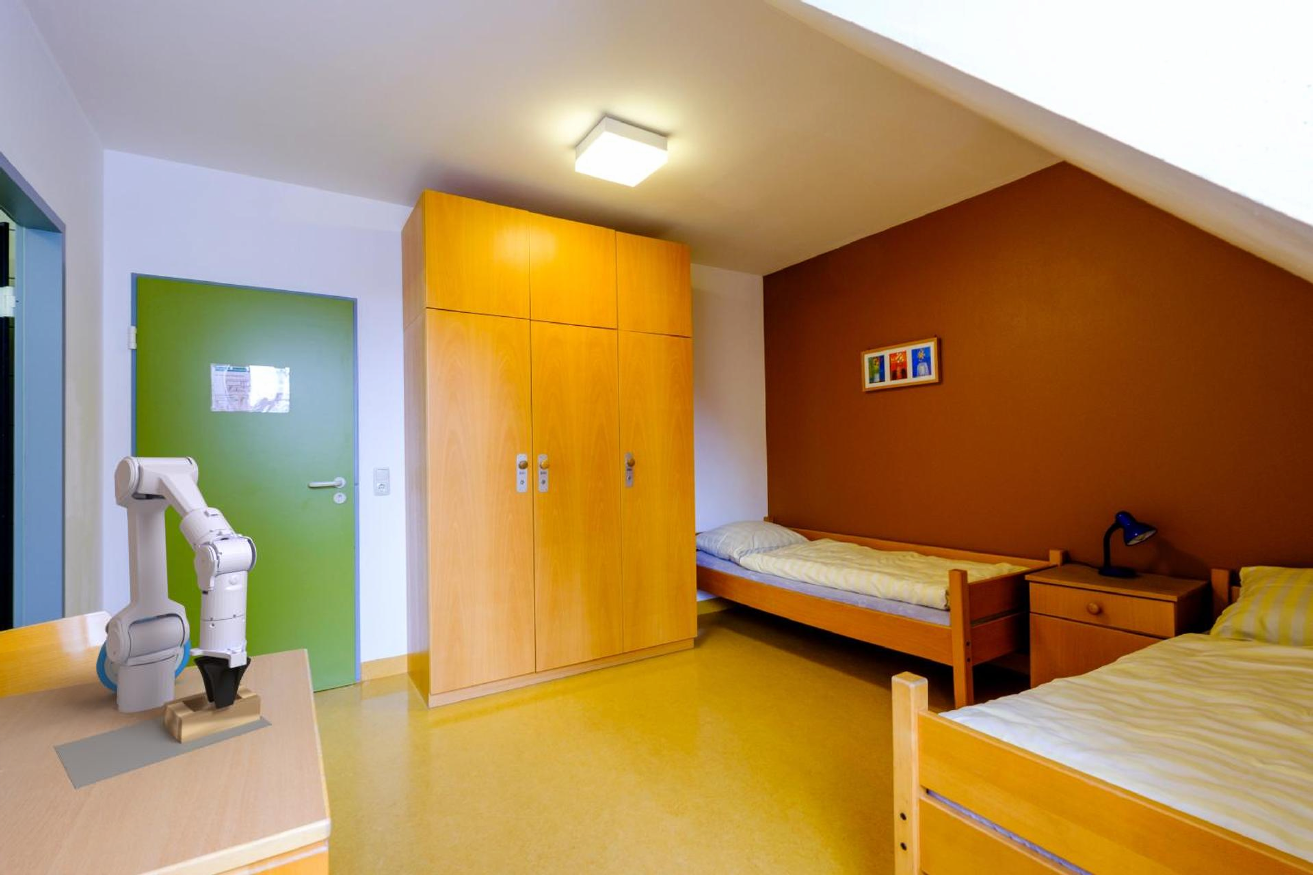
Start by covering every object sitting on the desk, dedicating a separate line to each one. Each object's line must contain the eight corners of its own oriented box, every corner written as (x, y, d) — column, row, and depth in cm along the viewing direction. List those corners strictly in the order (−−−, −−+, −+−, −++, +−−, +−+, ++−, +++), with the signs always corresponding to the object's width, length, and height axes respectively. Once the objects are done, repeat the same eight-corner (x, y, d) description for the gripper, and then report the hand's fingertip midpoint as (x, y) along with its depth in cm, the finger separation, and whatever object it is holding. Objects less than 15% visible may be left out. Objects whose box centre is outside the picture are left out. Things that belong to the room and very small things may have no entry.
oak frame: (163, 725, 89) (163, 702, 89) (238, 703, 97) (238, 682, 97) (181, 743, 83) (182, 719, 83) (259, 718, 91) (260, 697, 91)
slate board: (53, 754, 82) (55, 716, 83) (233, 703, 100) (234, 671, 100) (75, 798, 72) (77, 753, 72) (272, 731, 89) (273, 696, 90)
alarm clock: (94, 705, 100) (97, 619, 100) (97, 694, 104) (100, 612, 105) (190, 685, 108) (192, 607, 109) (188, 676, 113) (191, 601, 114)
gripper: (178, 613, 90) (175, 699, 89) (206, 629, 81) (203, 725, 81) (231, 604, 95) (228, 685, 95) (263, 619, 87) (260, 708, 86)
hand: (220, 703), depth 88 cm, fingers open, 3 cm apart
